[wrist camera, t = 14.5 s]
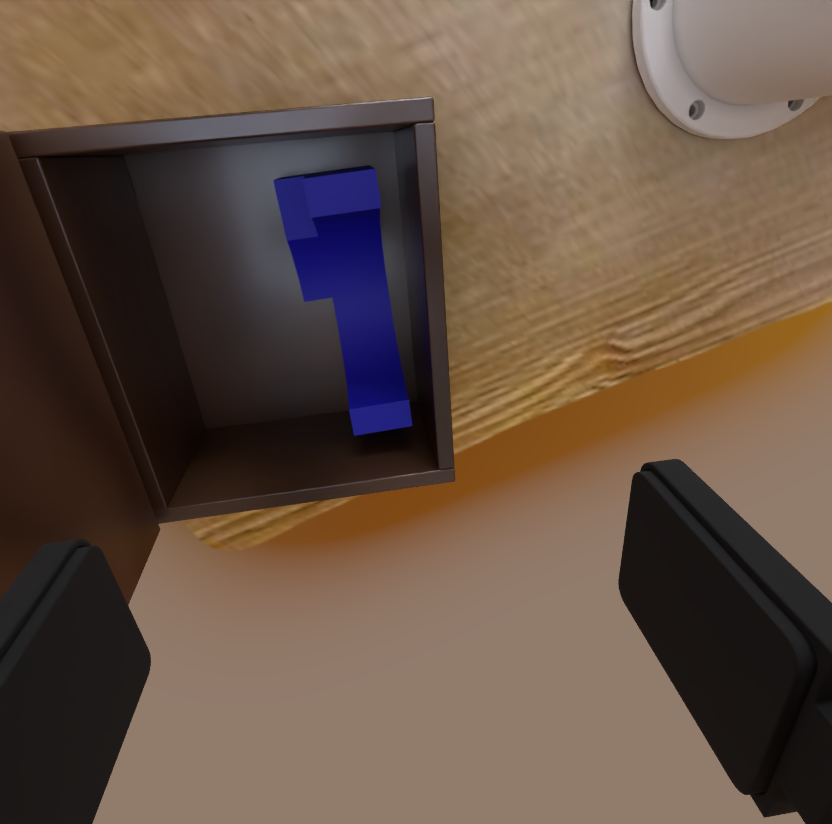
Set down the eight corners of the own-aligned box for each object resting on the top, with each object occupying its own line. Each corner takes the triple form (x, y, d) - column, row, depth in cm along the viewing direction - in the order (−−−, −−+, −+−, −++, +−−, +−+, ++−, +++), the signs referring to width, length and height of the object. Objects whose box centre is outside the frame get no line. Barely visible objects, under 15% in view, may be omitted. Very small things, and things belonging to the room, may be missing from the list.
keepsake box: (406, 112, 26) (433, 96, 19) (428, 405, 34) (455, 481, 26) (107, 138, 25) (3, 132, 17) (199, 435, 33) (155, 524, 25)
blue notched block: (279, 177, 26) (264, 184, 21) (368, 165, 27) (375, 168, 21) (327, 392, 32) (324, 440, 26) (400, 380, 32) (412, 425, 27)
